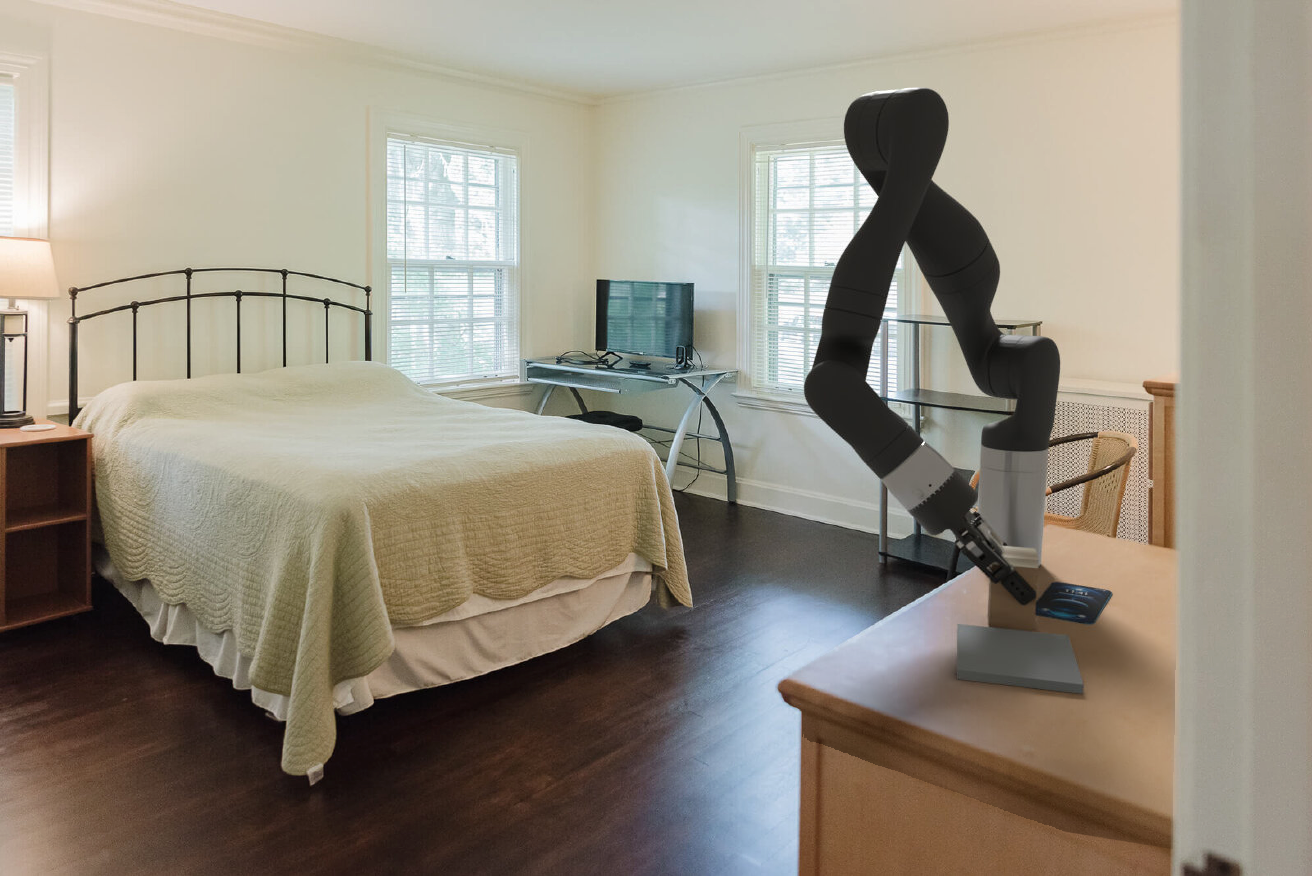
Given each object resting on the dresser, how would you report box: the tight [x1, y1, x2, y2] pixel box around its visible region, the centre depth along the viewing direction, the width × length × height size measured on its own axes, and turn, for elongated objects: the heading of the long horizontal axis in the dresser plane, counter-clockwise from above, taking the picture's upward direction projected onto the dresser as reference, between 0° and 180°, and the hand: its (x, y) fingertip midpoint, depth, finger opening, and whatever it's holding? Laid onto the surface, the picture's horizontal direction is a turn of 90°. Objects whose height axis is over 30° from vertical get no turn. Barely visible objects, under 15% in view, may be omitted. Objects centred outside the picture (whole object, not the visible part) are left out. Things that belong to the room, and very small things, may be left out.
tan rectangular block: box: [986, 546, 1039, 632], centre depth 112 cm, size 5×5×9 cm
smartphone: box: [1035, 581, 1113, 626], centre depth 120 cm, size 8×1×15 cm
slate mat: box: [956, 623, 1084, 695], centre depth 101 cm, size 14×12×1 cm
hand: (1028, 592), depth 111 cm, fingers closed on tan rectangular block, 5 cm apart
